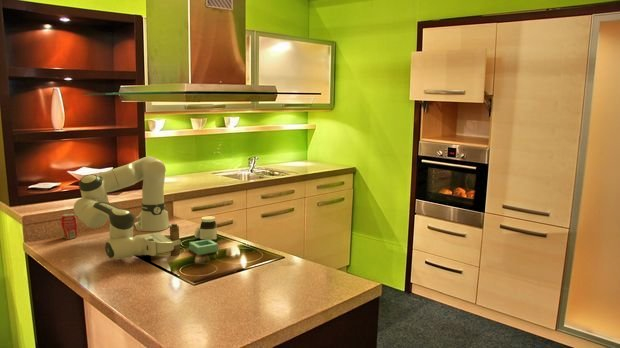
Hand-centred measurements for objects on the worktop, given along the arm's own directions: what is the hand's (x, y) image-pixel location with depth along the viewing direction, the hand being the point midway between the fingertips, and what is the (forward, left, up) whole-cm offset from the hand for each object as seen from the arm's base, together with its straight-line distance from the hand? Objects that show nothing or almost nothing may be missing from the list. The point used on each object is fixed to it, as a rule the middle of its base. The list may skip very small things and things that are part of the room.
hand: (176, 239), depth 223 cm
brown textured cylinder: (0, -1, -7) cm, 7 cm away
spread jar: (-14, +20, -7) cm, 26 cm away
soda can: (-56, -35, -7) cm, 66 cm away
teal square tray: (+2, +12, -7) cm, 14 cm away
